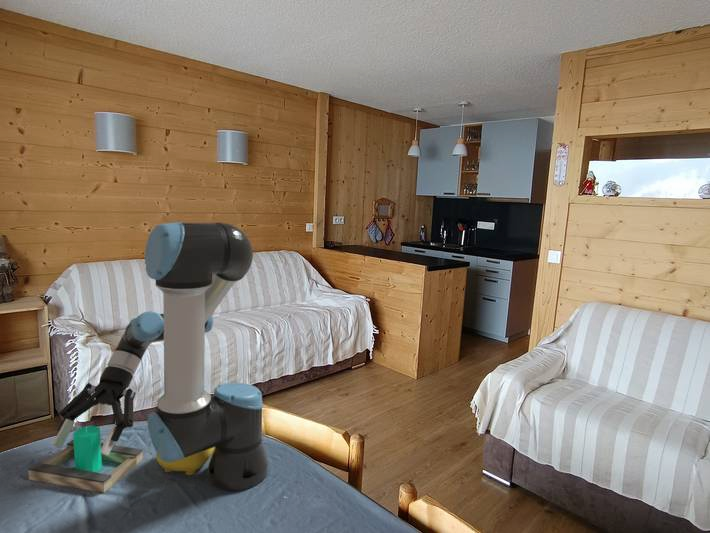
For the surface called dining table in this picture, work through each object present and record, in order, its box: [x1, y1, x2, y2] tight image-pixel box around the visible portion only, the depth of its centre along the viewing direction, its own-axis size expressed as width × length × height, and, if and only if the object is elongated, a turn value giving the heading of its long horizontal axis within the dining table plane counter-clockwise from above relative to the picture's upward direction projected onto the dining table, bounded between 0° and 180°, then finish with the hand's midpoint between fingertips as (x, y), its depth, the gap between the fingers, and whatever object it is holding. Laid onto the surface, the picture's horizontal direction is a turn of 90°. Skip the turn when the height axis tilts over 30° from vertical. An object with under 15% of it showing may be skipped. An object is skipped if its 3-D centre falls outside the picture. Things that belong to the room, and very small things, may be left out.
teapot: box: [155, 447, 215, 476], centre depth 117 cm, size 13×20×12 cm
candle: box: [72, 425, 103, 473], centre depth 113 cm, size 6×6×12 cm
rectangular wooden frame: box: [27, 439, 144, 494], centre depth 113 cm, size 21×14×3 cm, turn 79°
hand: (79, 450), depth 110 cm, fingers open, 13 cm apart
